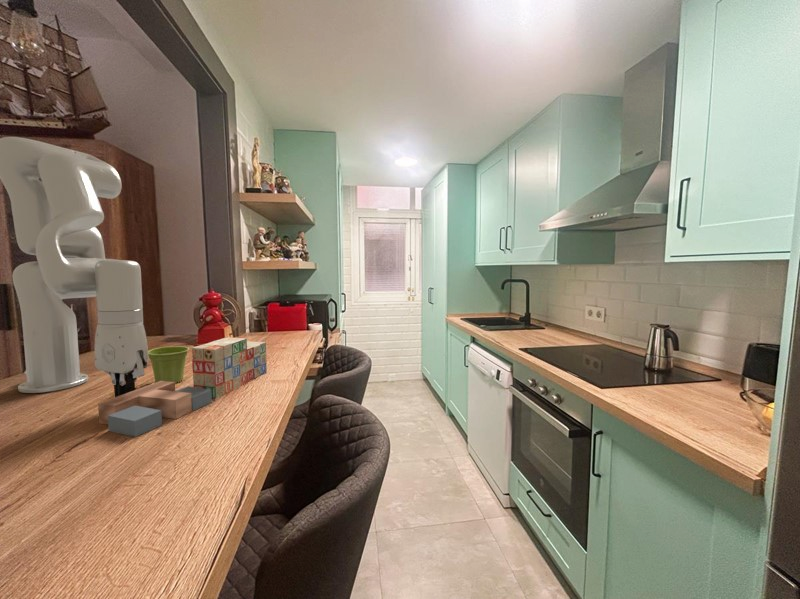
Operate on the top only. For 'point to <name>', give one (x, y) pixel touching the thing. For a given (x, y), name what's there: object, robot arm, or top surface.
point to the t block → (149, 401)
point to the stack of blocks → (227, 364)
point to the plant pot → (168, 363)
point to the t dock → (151, 414)
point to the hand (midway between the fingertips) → (125, 400)
